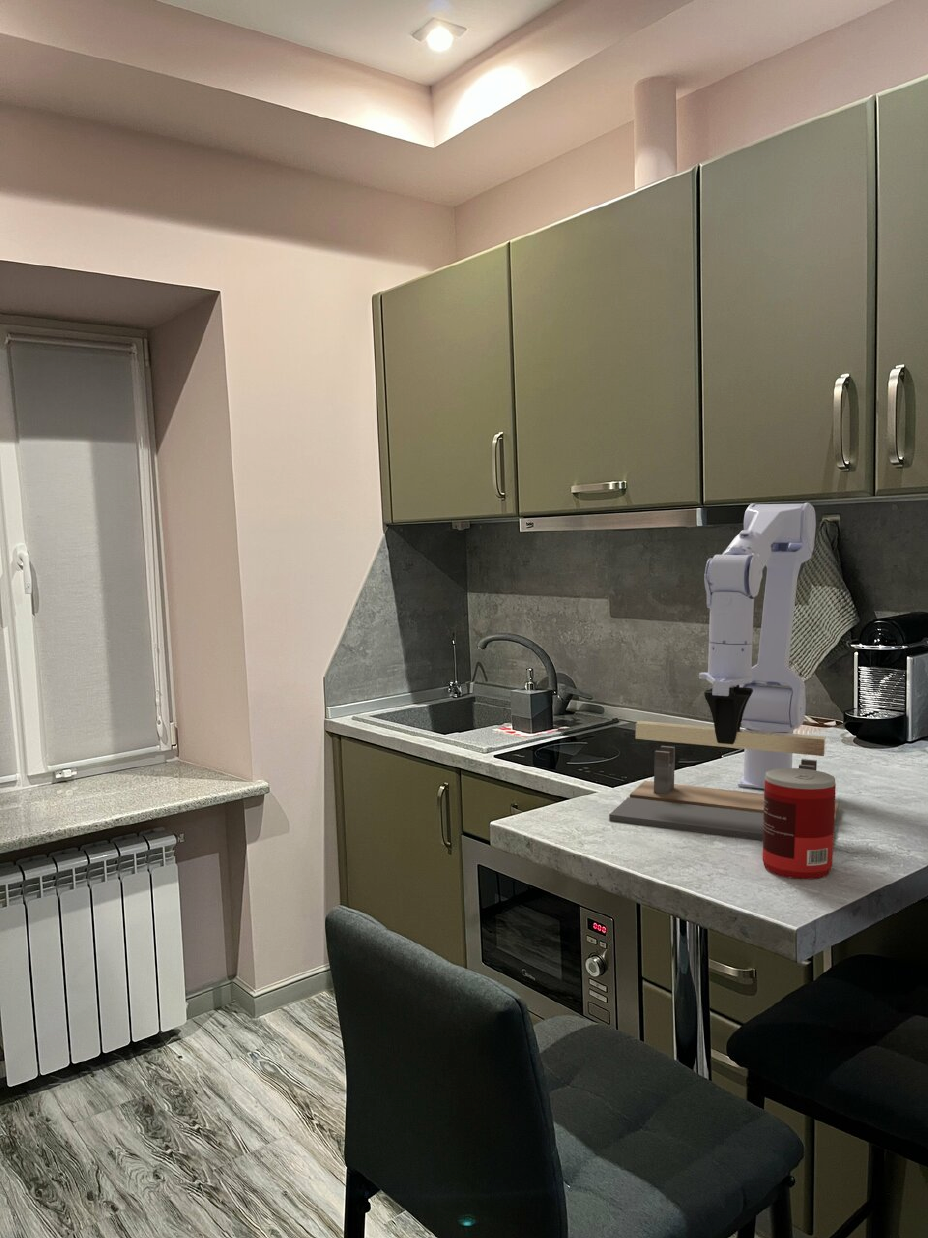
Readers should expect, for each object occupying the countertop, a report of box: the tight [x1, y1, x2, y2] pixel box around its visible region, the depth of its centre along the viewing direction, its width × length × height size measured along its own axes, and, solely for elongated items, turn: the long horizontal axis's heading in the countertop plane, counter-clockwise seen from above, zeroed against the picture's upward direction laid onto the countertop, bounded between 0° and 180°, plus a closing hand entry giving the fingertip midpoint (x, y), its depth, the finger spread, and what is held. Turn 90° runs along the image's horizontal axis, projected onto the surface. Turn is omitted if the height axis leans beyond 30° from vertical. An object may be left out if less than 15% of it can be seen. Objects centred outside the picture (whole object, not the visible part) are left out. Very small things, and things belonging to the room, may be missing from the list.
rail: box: [635, 720, 827, 757], centre depth 131 cm, size 2×25×2 cm, turn 66°
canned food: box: [761, 767, 837, 880], centre depth 110 cm, size 8×8×11 cm
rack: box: [629, 745, 840, 827], centre depth 138 cm, size 9×28×7 cm, turn 66°
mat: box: [608, 796, 764, 841], centre depth 129 cm, size 10×28×1 cm, turn 66°
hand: (727, 741), depth 131 cm, fingers closed on rail, 2 cm apart
